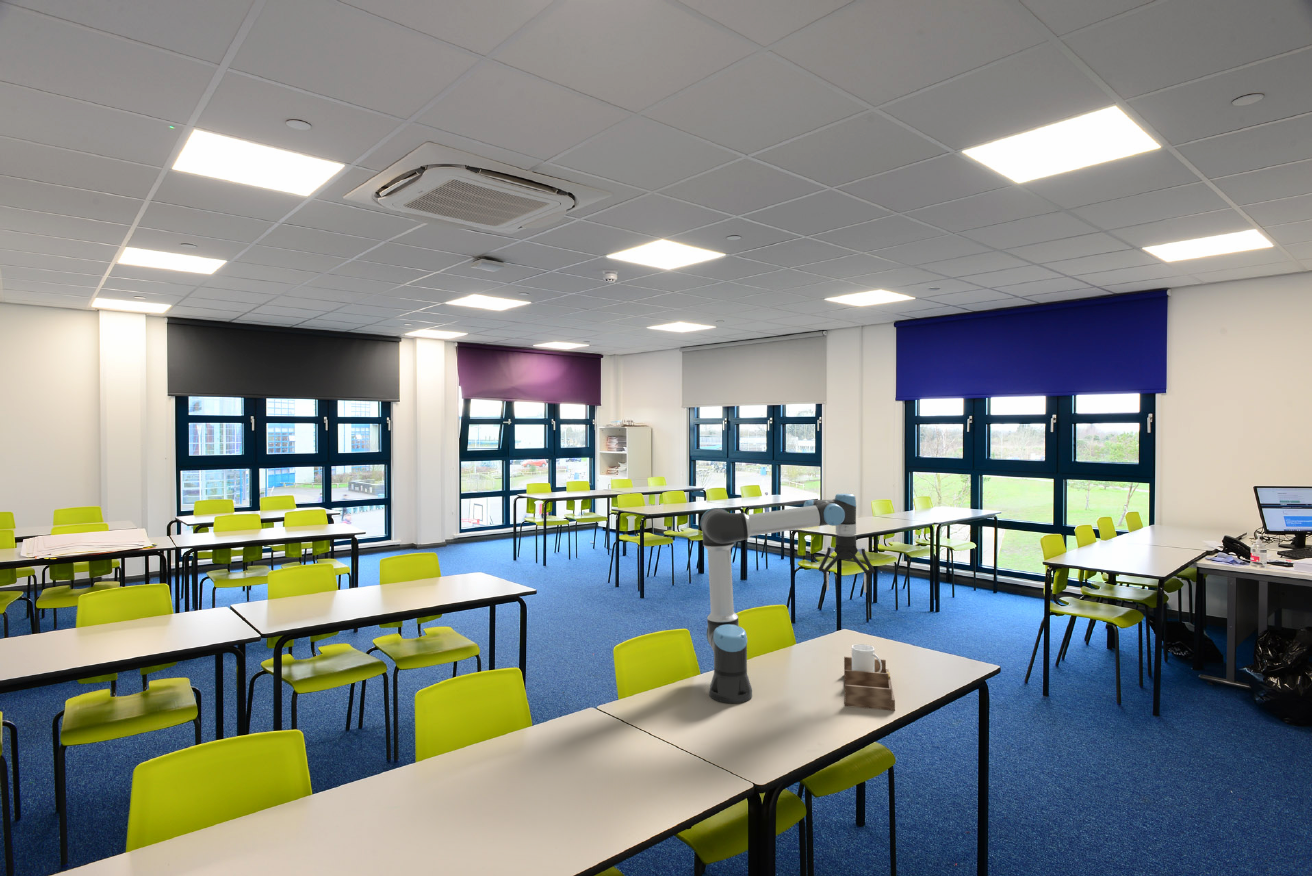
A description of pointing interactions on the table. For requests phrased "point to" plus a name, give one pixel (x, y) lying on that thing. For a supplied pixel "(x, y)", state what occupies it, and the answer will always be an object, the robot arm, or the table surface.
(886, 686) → the rack
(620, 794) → the table surface
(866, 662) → the mug
